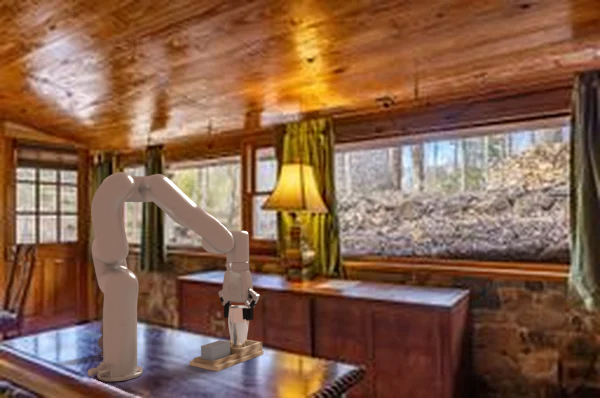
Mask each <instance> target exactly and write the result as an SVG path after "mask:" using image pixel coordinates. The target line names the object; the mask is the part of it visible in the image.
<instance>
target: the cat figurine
mask: <svg viewBox="0 0 600 398" xmlns="http://www.w3.org/2000/svg"><path fill="white" fill-rule="evenodd" d="M100 320H101V325H100V328H99V332H100V334H101V336H100V337H99V338H98V341H97V345H98V347H99V348H100V349H101V351H100V352H99V356H100V355H101V356H103V318H102V319H100Z"/></svg>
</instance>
